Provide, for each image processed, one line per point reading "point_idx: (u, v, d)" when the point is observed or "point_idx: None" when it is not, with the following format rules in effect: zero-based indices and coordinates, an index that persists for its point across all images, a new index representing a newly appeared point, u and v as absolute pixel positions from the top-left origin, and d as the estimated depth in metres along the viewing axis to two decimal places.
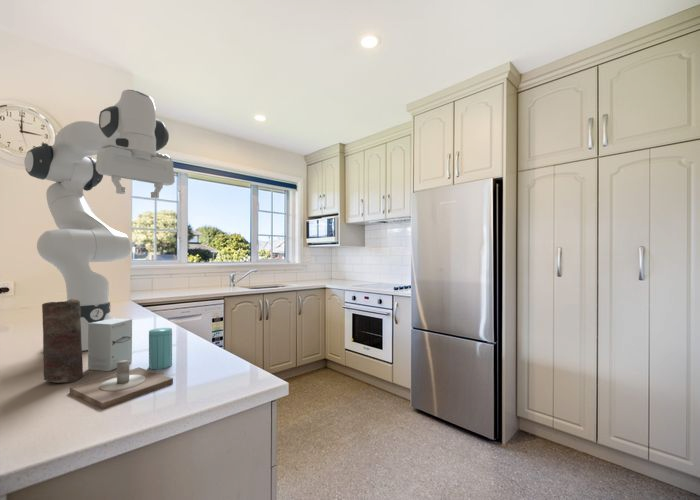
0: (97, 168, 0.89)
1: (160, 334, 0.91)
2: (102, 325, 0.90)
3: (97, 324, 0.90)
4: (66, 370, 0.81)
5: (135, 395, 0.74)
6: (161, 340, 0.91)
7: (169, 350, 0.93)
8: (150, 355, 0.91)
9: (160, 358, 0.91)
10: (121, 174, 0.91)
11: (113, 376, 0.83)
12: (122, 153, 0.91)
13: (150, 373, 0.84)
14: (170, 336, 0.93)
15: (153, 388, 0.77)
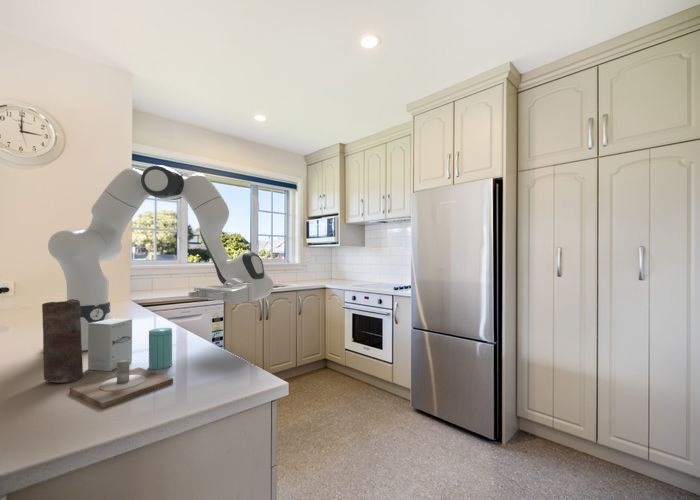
0: (236, 293, 1.04)
1: (160, 334, 0.91)
2: (102, 325, 0.90)
3: (97, 324, 0.90)
4: (66, 370, 0.81)
5: (135, 395, 0.74)
6: (161, 340, 0.91)
7: (169, 350, 0.93)
8: (150, 355, 0.91)
9: (160, 358, 0.91)
10: (224, 300, 1.05)
11: (113, 376, 0.83)
12: None
13: (150, 373, 0.84)
14: (170, 336, 0.93)
15: (153, 388, 0.77)
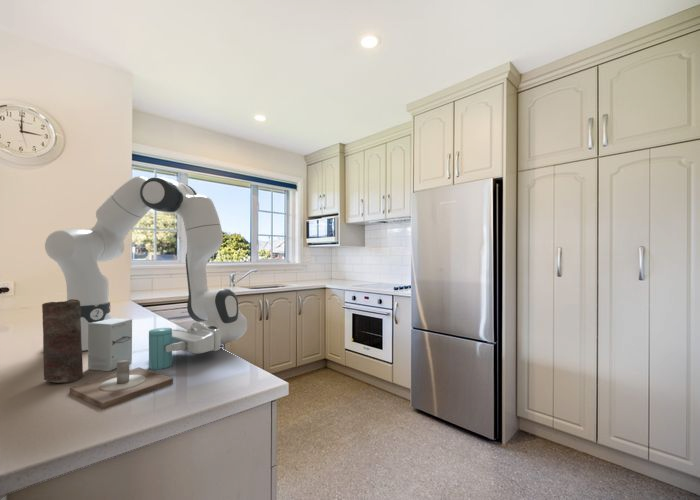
0: (199, 344, 0.93)
1: (160, 334, 0.91)
2: (102, 325, 0.90)
3: (97, 324, 0.90)
4: (66, 370, 0.81)
5: (135, 395, 0.74)
6: (161, 340, 0.91)
7: None
8: (150, 355, 0.91)
9: (160, 358, 0.91)
10: (186, 351, 0.94)
11: (113, 376, 0.83)
12: None
13: (150, 373, 0.84)
14: (170, 336, 0.93)
15: (153, 388, 0.77)
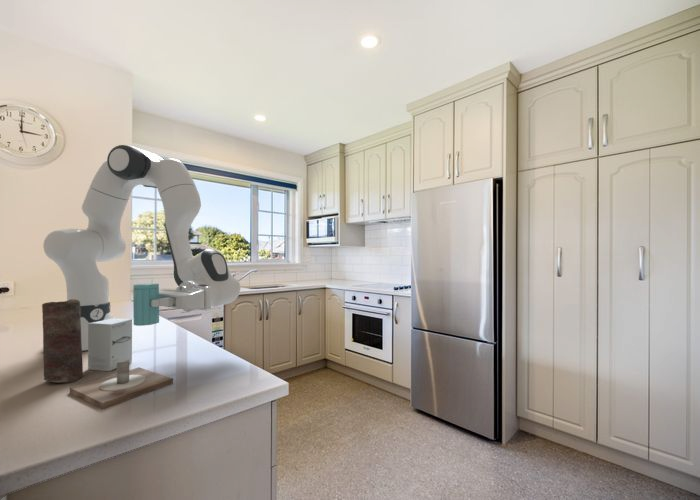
0: (188, 299, 0.86)
1: (145, 287, 0.84)
2: (102, 325, 0.90)
3: (97, 324, 0.90)
4: (66, 370, 0.81)
5: (135, 395, 0.74)
6: (147, 294, 0.84)
7: None
8: (134, 310, 0.84)
9: (146, 314, 0.84)
10: (174, 307, 0.87)
11: (113, 376, 0.83)
12: None
13: (150, 373, 0.84)
14: (157, 291, 0.86)
15: (153, 388, 0.77)
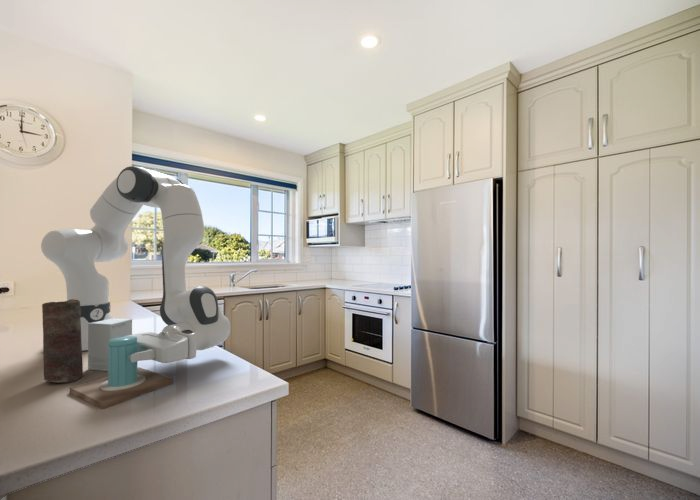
0: (169, 351, 0.78)
1: (121, 344, 0.76)
2: (102, 325, 0.90)
3: (97, 324, 0.90)
4: (66, 370, 0.81)
5: (135, 395, 0.74)
6: (123, 352, 0.76)
7: (133, 363, 0.78)
8: (109, 369, 0.76)
9: (121, 374, 0.76)
10: None
11: None
12: None
13: (150, 373, 0.84)
14: (134, 346, 0.78)
15: (153, 388, 0.77)
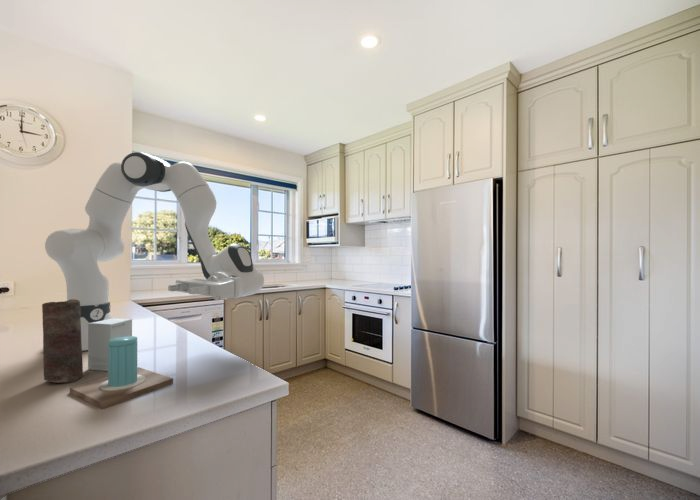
0: (221, 288, 0.93)
1: (121, 344, 0.76)
2: (102, 325, 0.90)
3: (97, 324, 0.90)
4: (66, 370, 0.81)
5: (135, 395, 0.74)
6: (123, 352, 0.76)
7: (133, 363, 0.78)
8: (109, 369, 0.76)
9: (121, 374, 0.76)
10: (207, 295, 0.95)
11: None
12: None
13: (150, 373, 0.84)
14: (134, 346, 0.78)
15: (153, 388, 0.77)
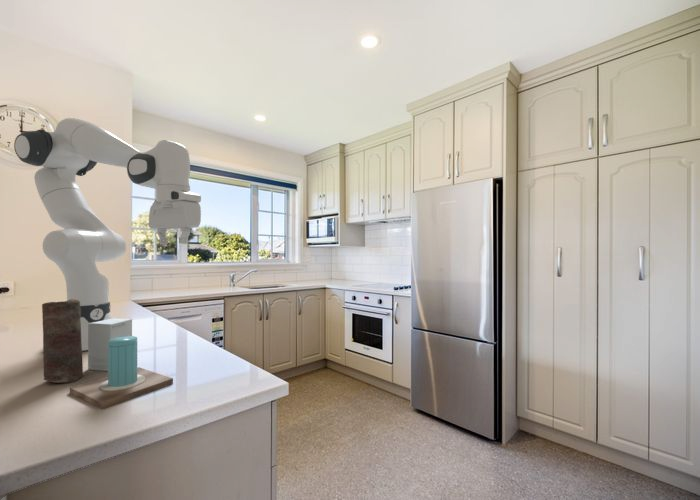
0: (192, 222, 0.93)
1: (121, 344, 0.76)
2: (102, 325, 0.90)
3: (97, 324, 0.90)
4: (66, 370, 0.81)
5: (135, 395, 0.74)
6: (123, 352, 0.76)
7: (133, 363, 0.78)
8: (109, 369, 0.76)
9: (121, 374, 0.76)
10: None
11: None
12: None
13: (150, 373, 0.84)
14: (134, 346, 0.78)
15: (153, 388, 0.77)
